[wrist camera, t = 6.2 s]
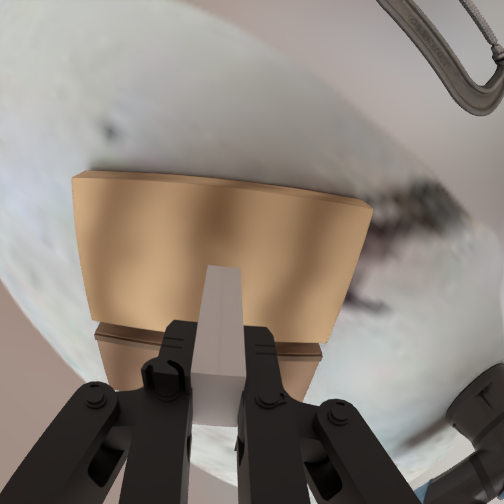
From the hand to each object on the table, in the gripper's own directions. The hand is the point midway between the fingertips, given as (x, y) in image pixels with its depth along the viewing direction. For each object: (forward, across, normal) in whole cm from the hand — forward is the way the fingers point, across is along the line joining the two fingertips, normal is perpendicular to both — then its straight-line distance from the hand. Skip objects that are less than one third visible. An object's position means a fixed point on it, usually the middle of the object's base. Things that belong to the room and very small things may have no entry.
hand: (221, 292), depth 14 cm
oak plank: (+8, +1, +2) cm, 8 cm away
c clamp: (+9, -17, -25) cm, 32 cm away
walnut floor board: (+8, +1, +13) cm, 16 cm away
